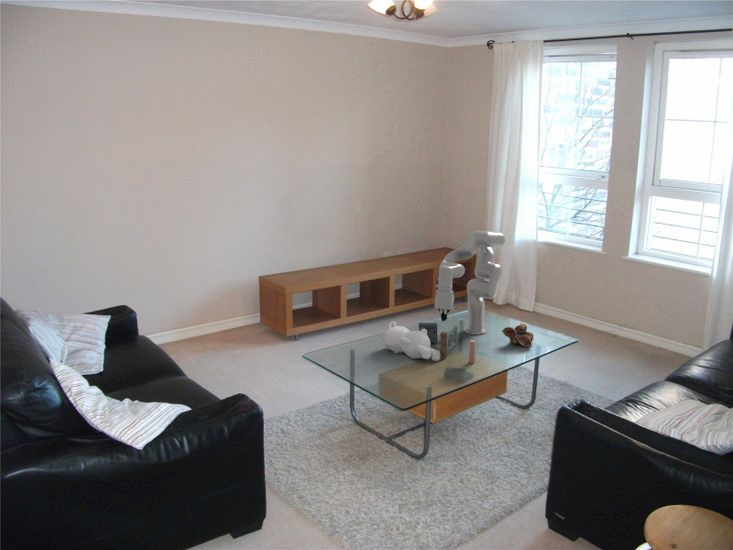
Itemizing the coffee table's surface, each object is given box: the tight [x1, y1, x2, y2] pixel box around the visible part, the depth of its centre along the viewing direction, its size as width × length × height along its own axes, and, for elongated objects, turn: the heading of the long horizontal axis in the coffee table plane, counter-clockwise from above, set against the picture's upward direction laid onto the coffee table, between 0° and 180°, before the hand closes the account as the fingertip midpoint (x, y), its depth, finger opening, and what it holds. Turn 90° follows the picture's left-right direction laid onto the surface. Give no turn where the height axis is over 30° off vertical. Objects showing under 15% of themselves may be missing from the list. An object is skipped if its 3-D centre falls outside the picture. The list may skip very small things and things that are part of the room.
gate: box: [447, 325, 458, 354], centre depth 359 cm, size 18×2×11 cm, turn 154°
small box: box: [418, 322, 438, 345], centre depth 373 cm, size 11×6×10 cm, turn 84°
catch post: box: [468, 339, 477, 364], centre depth 343 cm, size 2×2×12 cm
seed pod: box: [501, 323, 534, 348], centre depth 369 cm, size 14×18×16 cm
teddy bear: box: [382, 320, 441, 362], centre depth 353 cm, size 19×18×35 cm
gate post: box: [439, 331, 449, 360], centre depth 349 cm, size 3×3×14 cm
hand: (443, 320), depth 363 cm, fingers closed
